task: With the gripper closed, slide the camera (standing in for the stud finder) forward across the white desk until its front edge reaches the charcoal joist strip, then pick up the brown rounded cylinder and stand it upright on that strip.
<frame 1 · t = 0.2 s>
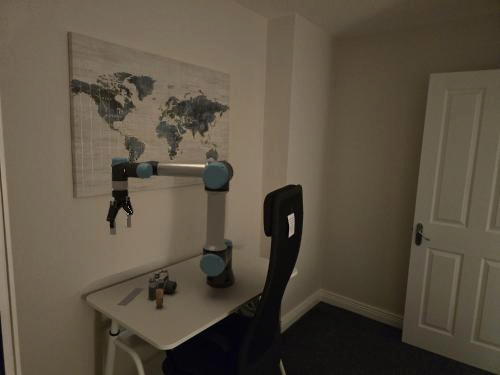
hand: (121, 230, 165), 28 cm above the table, fingers open, 13 cm apart
camera: (164, 293, 160), on the table
joist strip: (131, 296, 156), on the table
brown rounded cylinder: (159, 307, 147), on the table
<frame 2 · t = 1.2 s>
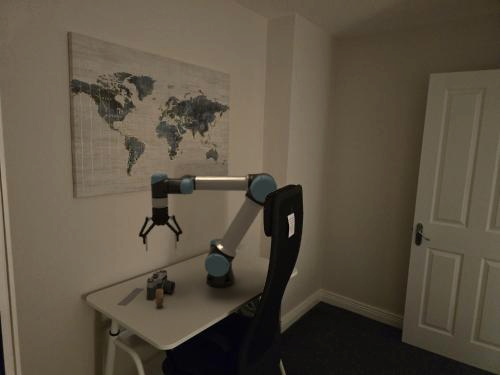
hand: (161, 249, 159), 21 cm above the table, fingers open, 13 cm apart
nothing on the table moved.
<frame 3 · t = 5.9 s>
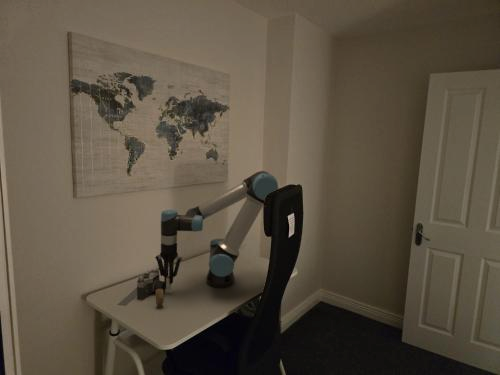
hand: (168, 289, 159), 2 cm above the table, fingers closed
camera: (153, 293, 160), on the table, touching gripper
everything else where it was.
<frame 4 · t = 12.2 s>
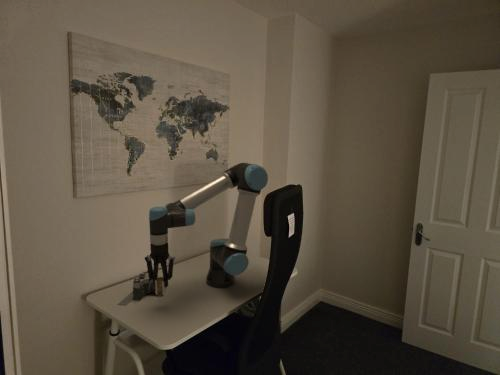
hand: (161, 293, 146), 6 cm above the table, fingers closed on brown rounded cylinder, 3 cm apart
camera: (149, 294, 159), on the table
brown rounded cylinder: (161, 295, 146), point 5 cm above the table, touching gripper
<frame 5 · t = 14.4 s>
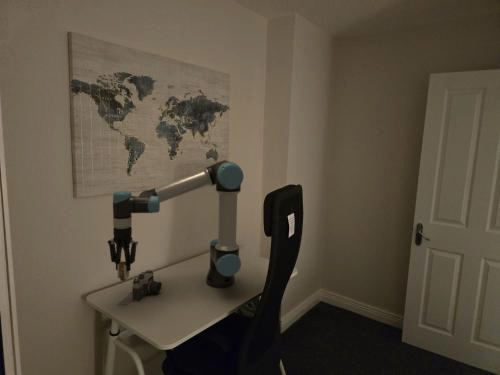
hand: (123, 277, 147), 12 cm above the table, fingers closed on brown rounded cylinder, 2 cm apart
brown rounded cylinder: (123, 279, 147), point 11 cm above the table, touching gripper
everything else where it was.
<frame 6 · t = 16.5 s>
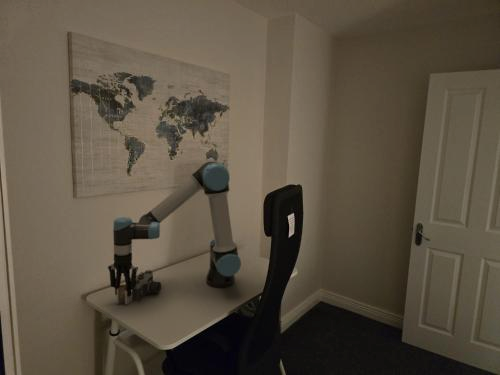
hand: (123, 302, 149), 0 cm above the table, fingers closed on brown rounded cylinder, joist strip, 3 cm apart
brown rounded cylinder: (123, 302, 149), resting on joist strip, touching gripper
everything else where it was.
when the fingers open (0 cm above the table, at t = 16.7 s): brown rounded cylinder stays where it is, resting on joist strip.
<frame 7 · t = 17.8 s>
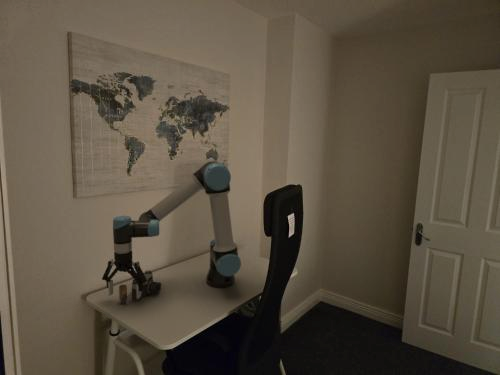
hand: (124, 296, 149), 3 cm above the table, fingers open, 13 cm apart
brown rounded cylinder: (123, 302, 149), resting on joist strip
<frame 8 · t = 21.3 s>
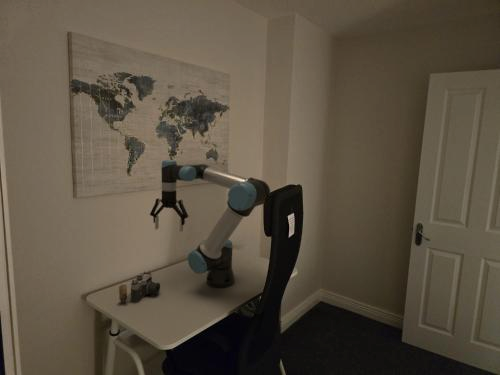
hand: (169, 229, 173), 27 cm above the table, fingers open, 13 cm apart
camera: (147, 295, 157), on the table, touching joist strip
everything else where it was.
at the end: camera inside the target area (3.8 cm from its centre), on the table; brown rounded cylinder 0.4 cm from the target spot, resting on joist strip; brown rounded cylinder tilted 0° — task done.
